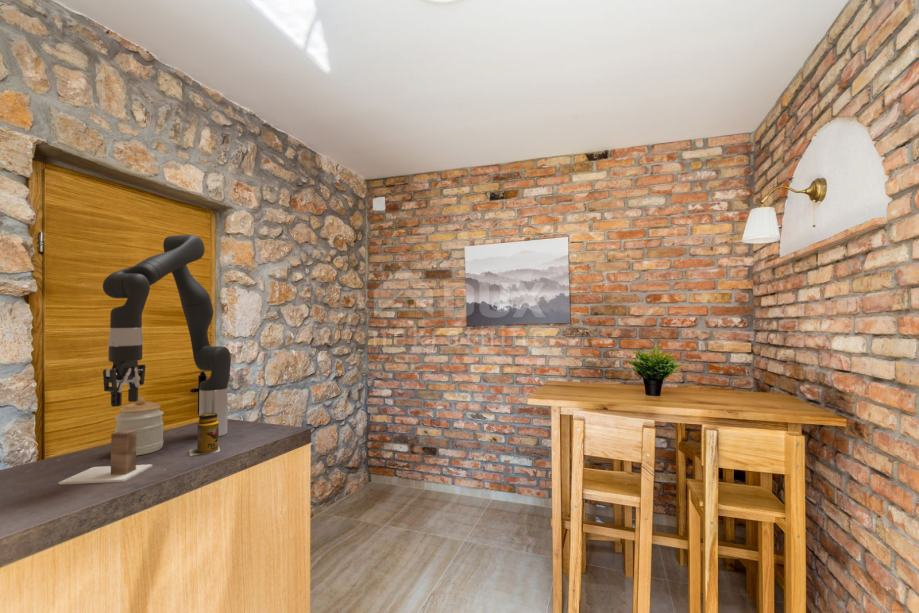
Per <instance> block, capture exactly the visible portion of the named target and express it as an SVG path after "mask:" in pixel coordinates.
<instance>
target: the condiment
mask: <svg viewBox="0 0 919 613" xmlns="http://www.w3.org/2000/svg"><path fill="white" fill-rule="evenodd" d="M217 416H218V415H217V413H205V414H201V415H200V416H199V415H198V423H197V435H196V436H197V438H196V439H197V441H196V442H197V444H196V448H193V449H192V448H191V449H189V457H191V456H197V455H205V454H214V453H219V452H221V449H220V446H219V444H220V442H219V441H220V440H219V437H220V436H219V422H218V421H217V419H218V418H217Z"/></svg>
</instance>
